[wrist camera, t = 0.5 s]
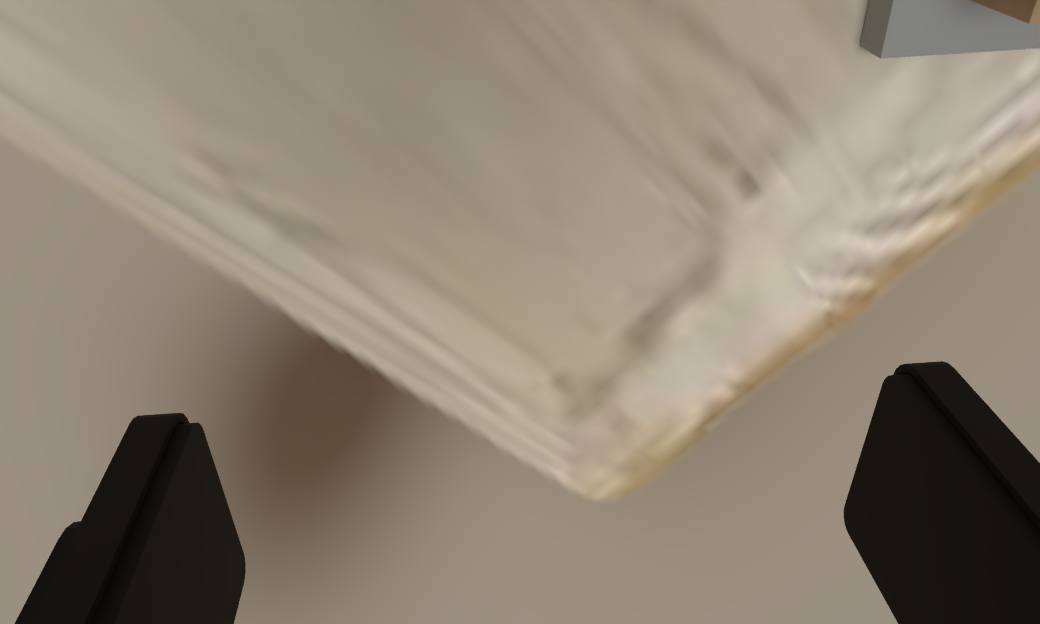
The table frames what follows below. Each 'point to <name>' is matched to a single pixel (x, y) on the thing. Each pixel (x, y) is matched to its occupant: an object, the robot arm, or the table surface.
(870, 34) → the slate base
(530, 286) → the table surface
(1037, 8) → the walnut block
